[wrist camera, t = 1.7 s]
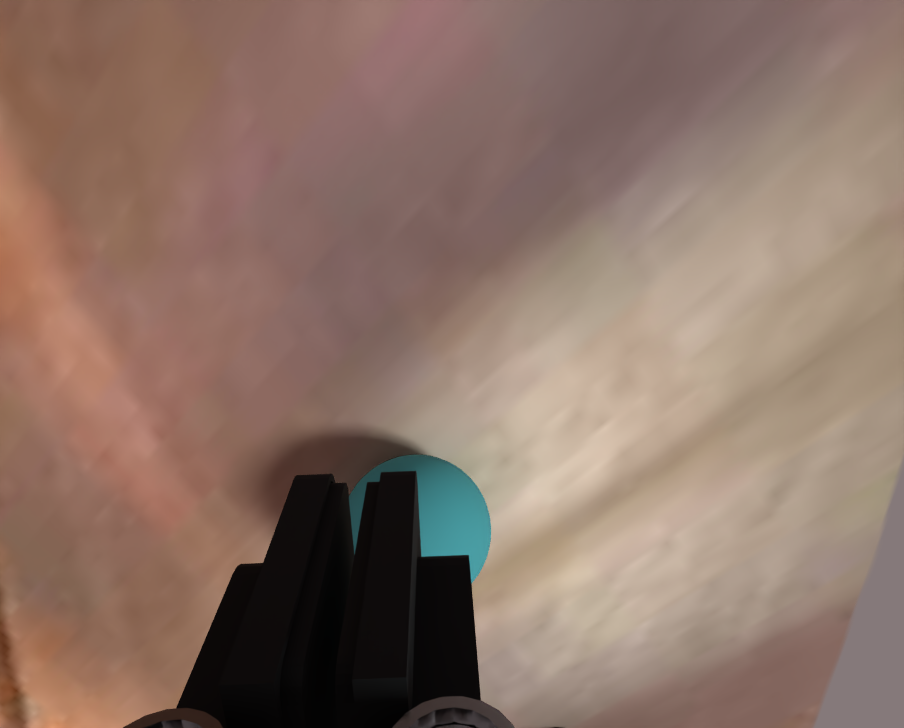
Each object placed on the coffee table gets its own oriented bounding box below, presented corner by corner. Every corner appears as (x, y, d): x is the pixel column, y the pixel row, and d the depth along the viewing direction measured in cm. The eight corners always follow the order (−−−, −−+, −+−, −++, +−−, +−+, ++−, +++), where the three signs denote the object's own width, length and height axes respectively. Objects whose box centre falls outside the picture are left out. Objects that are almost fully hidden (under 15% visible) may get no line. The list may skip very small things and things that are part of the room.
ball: (343, 431, 29) (322, 511, 23) (484, 426, 29) (497, 505, 23) (355, 548, 31) (337, 648, 25) (486, 543, 31) (497, 641, 25)
